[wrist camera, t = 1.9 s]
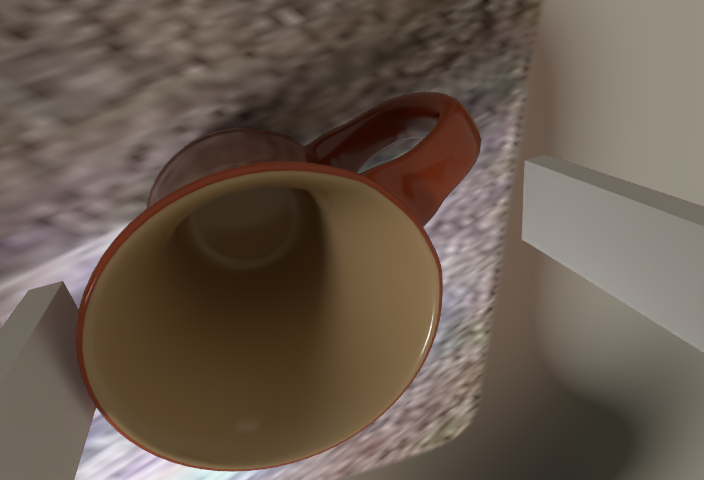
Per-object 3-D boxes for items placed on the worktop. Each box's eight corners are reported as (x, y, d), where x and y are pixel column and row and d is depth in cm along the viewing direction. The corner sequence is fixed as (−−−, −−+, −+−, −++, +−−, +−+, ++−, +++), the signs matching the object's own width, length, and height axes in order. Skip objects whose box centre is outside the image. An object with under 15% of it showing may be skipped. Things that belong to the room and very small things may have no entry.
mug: (244, 320, 22) (277, 511, 13) (85, 206, 17) (-30, 377, 8) (419, 157, 21) (581, 239, 12) (302, -3, 17) (422, -55, 8)
